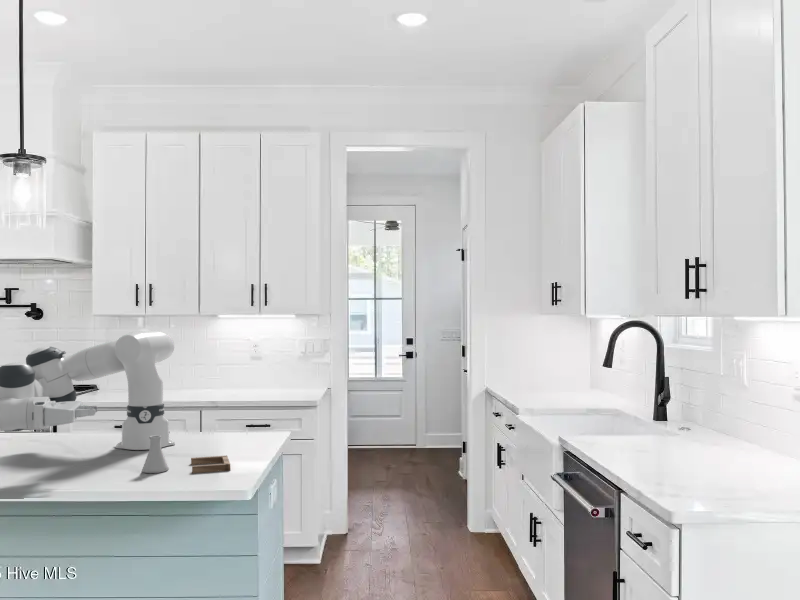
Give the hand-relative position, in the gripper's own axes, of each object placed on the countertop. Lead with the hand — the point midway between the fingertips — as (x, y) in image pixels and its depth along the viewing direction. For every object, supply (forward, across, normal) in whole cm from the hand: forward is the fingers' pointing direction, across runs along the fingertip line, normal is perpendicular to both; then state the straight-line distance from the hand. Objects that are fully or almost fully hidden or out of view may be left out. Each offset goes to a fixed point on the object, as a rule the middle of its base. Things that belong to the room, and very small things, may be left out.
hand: (96, 410), depth 198 cm
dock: (+31, 0, -18) cm, 36 cm away
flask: (+16, 0, -18) cm, 24 cm away
